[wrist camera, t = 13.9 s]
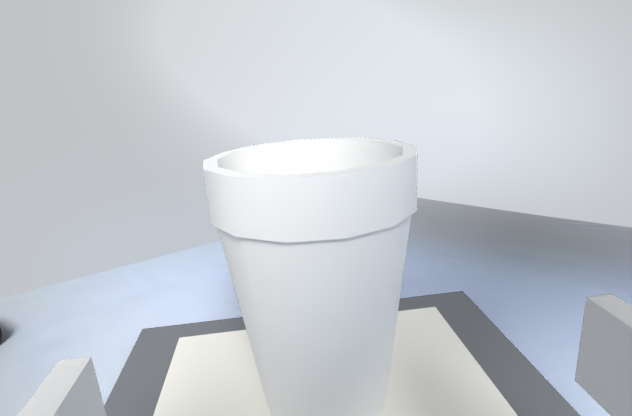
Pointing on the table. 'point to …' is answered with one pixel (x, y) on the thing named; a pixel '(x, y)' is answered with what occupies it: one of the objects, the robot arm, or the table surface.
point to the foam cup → (317, 264)
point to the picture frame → (404, 377)
